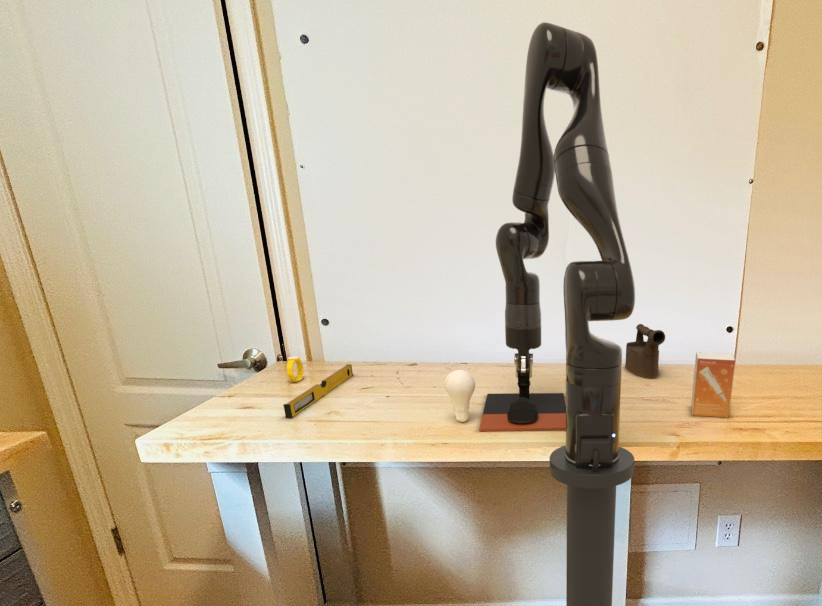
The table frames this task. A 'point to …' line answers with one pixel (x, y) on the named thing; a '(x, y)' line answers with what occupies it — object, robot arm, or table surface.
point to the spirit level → (317, 391)
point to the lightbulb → (460, 392)
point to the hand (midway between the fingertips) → (524, 402)
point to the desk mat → (548, 419)
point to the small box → (712, 384)
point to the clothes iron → (644, 352)
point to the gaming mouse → (522, 411)
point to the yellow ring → (290, 368)
